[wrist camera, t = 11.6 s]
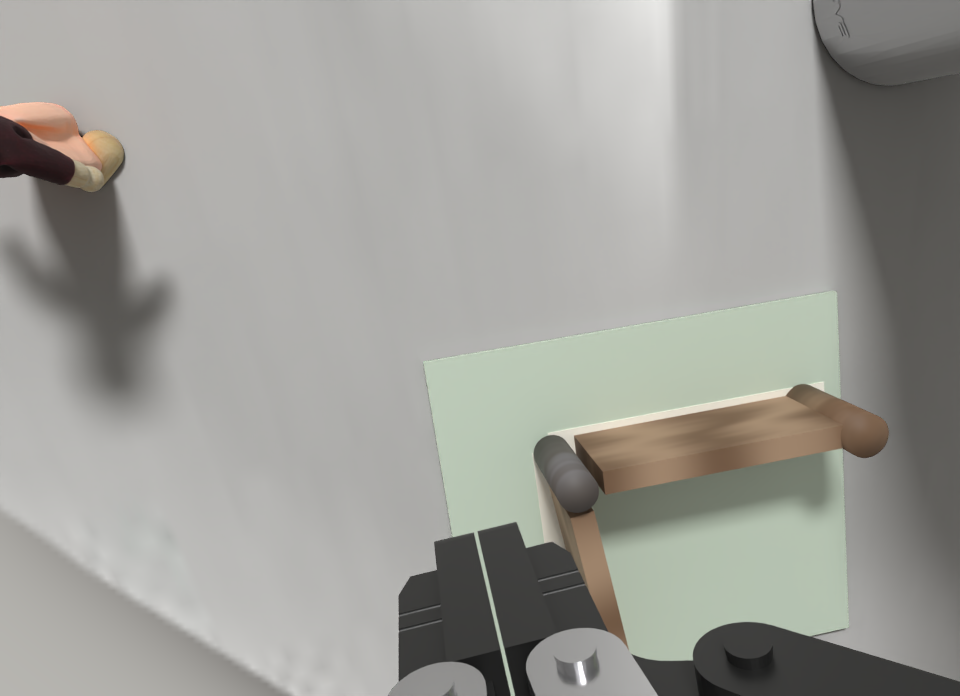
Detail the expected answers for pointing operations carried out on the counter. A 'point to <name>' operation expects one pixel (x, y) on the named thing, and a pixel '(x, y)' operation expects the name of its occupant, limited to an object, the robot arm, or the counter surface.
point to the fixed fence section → (728, 439)
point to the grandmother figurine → (55, 147)
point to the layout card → (669, 506)
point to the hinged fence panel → (579, 523)
